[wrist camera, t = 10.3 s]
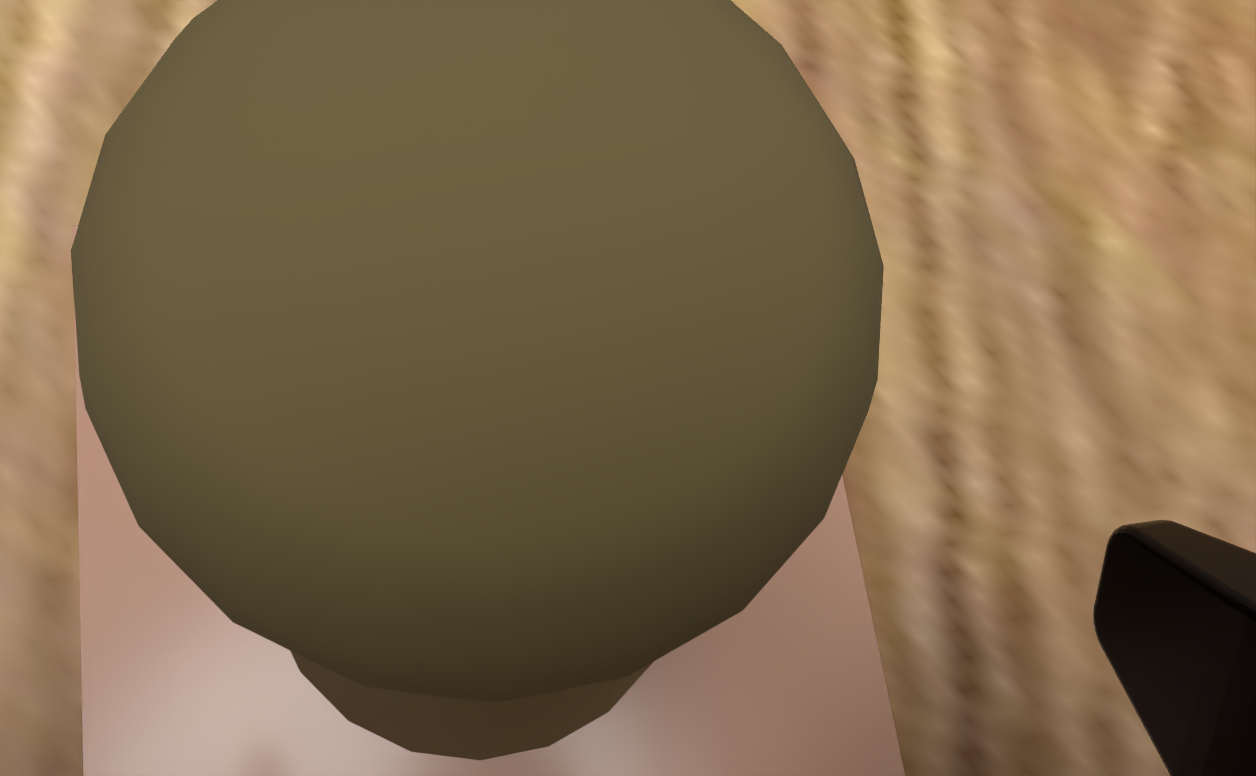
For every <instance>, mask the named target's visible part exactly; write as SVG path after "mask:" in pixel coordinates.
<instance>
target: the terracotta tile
mask: <svg viewBox="0 0 1256 776" xmlns="http://www.w3.org/2000/svg"><path fill="white" fill-rule="evenodd" d="M77 229H78V225H73V242H74V239H75V235H76V232H77ZM74 317H75V304H74ZM75 369H76V420H77V471H78V523H79V574H80V625H81V677H82V728H83V776H905V772H904V767H903V762H902V757H901V753H900V748H899V743H898V738H897V734H896V729H895V724H894V719H893V715H892V710H891V705H890V700H889V696H888V691H887V686H886V681H885V677H884V672H883V667H882V662H881V658H880V653H879V648H878V643H877V639H876V634H875V629H874V624H873V620H872V615H871V610H870V605H869V601H868V596H867V591H866V586H865V582H864V577H863V572H862V567H861V562H860V558H859V553H858V548H857V543H856V539H855V534H854V529H853V524H852V520H851V515H850V510H849V505H848V501H847V496H846V491H845V486H844V482H843V477H842V476H841V479H840V481H839V484H838V486H837V488H836V491H835V493H834V496H833V498H832V501H831V503H830V506H829V508H828V510H827V513H826V515H825V518H824V519H823V520H822V521H821V523H820V524H819V525H818V526H817V527H816V528H815V529H814V530H813V532H812V533H811V534H810V535H809V536H808V537H807V538H806V540H805V541H804V542H803V543H802V544H801V545H800V546H799V547H798V549H797V550H796V551H795V552H794V553H793V554H792V555H791V557H790V558H789V559H788V560H787V561H786V562H785V563H784V565H783V566H782V567H781V568H780V569H779V570H778V571H777V572H776V574H775V575H774V576H773V577H772V578H771V579H770V580H769V582H768V583H767V584H766V585H765V586H764V587H763V588H762V589H761V591H760V592H759V593H758V594H757V595H756V596H755V597H754V599H753V600H752V601H751V602H750V603H749V604H748V605H747V607H746V608H745V609H744V610H743V611H741V612H740V613H738V614H736V615H734V616H733V617H731V618H729V619H727V620H726V621H724V622H722V623H720V624H719V625H717V626H715V627H713V628H712V629H710V630H708V631H706V632H705V633H703V634H701V635H699V636H697V637H696V638H694V639H692V640H690V641H689V642H687V643H685V644H683V645H682V646H680V647H678V648H676V649H675V650H673V651H671V652H669V653H668V654H666V655H664V656H662V657H661V658H659V659H657V660H655V661H654V662H653V663H652V664H651V665H650V666H649V668H648V669H647V670H646V671H645V672H644V673H643V674H642V675H641V676H640V678H639V679H638V680H637V681H636V682H635V683H634V684H633V685H632V686H631V688H630V689H629V690H628V691H627V692H626V693H625V694H624V695H623V697H622V698H621V699H620V700H619V701H618V702H617V703H616V704H615V705H614V707H613V708H612V709H611V710H610V711H609V712H608V713H606V714H604V715H603V716H601V717H599V718H597V719H596V720H594V721H592V722H590V723H589V724H587V725H585V726H583V727H582V728H580V729H578V730H577V731H575V732H573V733H571V734H570V735H568V736H566V737H564V738H563V739H561V740H559V741H557V742H556V743H554V744H552V745H550V746H549V747H544V748H539V749H534V750H529V751H524V752H519V753H514V754H510V755H505V756H500V757H495V758H490V759H485V760H473V759H465V758H457V757H449V756H441V755H433V754H425V753H417V752H411V751H409V750H406V749H404V748H402V747H400V746H398V745H396V744H394V743H392V742H390V741H388V740H386V739H384V738H382V737H380V736H378V735H376V734H374V733H372V732H370V731H368V730H366V729H364V728H362V727H360V726H358V725H356V724H354V723H352V722H350V721H348V720H347V719H346V718H345V717H344V716H343V715H342V714H341V713H340V712H339V711H338V710H337V709H336V708H335V707H334V706H333V705H332V704H331V703H330V702H329V701H328V700H327V699H326V698H325V697H324V696H323V695H322V694H321V693H320V692H319V691H318V689H317V688H316V687H315V686H314V685H313V684H312V683H311V682H310V681H309V680H308V679H307V678H306V677H305V676H304V675H303V674H302V673H301V672H300V671H299V668H298V666H297V664H296V662H295V660H294V658H293V656H292V654H291V651H290V650H288V649H286V648H284V647H282V646H280V645H278V644H276V643H274V642H272V641H270V640H268V639H266V638H264V637H262V636H260V635H258V634H256V633H254V632H252V631H250V630H248V629H246V628H244V627H241V626H239V625H237V624H235V623H233V622H232V621H231V620H230V619H229V618H228V617H227V616H226V615H225V614H224V613H223V612H222V611H221V610H220V609H219V608H218V607H217V606H216V605H215V604H214V602H213V601H212V600H211V599H210V598H209V597H208V596H207V595H206V594H205V593H204V592H203V591H202V590H201V589H200V588H199V587H198V586H197V585H196V584H195V583H194V582H193V581H192V580H191V579H190V578H189V577H188V576H187V575H186V574H185V573H184V572H183V571H182V570H181V569H180V568H179V567H178V566H177V565H176V564H175V563H174V562H173V561H172V560H171V559H170V558H169V557H168V556H167V555H166V554H165V553H164V552H163V551H162V550H161V548H160V547H159V546H158V545H157V544H156V543H155V542H154V541H153V540H152V539H151V538H150V537H149V536H148V535H147V534H146V533H145V532H144V531H143V530H142V529H141V528H140V527H139V526H138V524H137V521H136V519H135V517H134V515H133V513H132V510H131V508H130V506H129V504H128V502H127V499H126V497H125V495H124V493H123V491H122V488H121V486H120V484H119V482H118V479H117V477H116V475H115V473H114V471H113V468H112V466H111V464H110V462H109V460H108V457H107V455H106V453H105V451H104V449H103V446H102V444H101V442H100V440H99V438H98V435H97V433H96V431H95V429H94V426H93V424H92V422H91V420H90V418H89V415H88V413H87V411H86V409H85V403H84V398H83V393H82V387H81V382H80V377H79V365H78V350H77V335H76V319H75Z"/></svg>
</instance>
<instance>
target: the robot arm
mask: <svg viewBox="0 0 1256 776" xmlns="http://www.w3.org/2000/svg"><path fill="white" fill-rule="evenodd" d="M1094 626H1095V631H1096V634H1097V637H1098V640H1099V642H1100V645H1101V647H1102V649H1103V650H1104V652H1105V654H1106V656H1107V658H1108V660H1109V662H1110V664H1111V665H1112V667H1113V669H1114V671H1115V673H1116V675H1117V677H1118V678H1119V680H1120V682H1121V684H1122V686H1123V688H1124V690H1125V691H1126V693H1127V695H1128V697H1129V699H1130V701H1131V703H1132V705H1133V706H1134V708H1135V710H1136V712H1137V714H1138V716H1139V718H1140V719H1141V721H1142V723H1143V725H1144V727H1145V729H1146V731H1147V732H1148V734H1149V736H1150V738H1151V740H1152V742H1153V744H1154V746H1155V747H1156V749H1157V751H1158V753H1159V755H1160V757H1161V759H1162V760H1163V762H1164V764H1165V766H1166V768H1167V770H1168V772H1169V773H1170V775H1171V776H1256V553H1254V552H1251V551H1248V550H1246V549H1243V548H1241V547H1238V546H1235V545H1233V544H1230V543H1228V542H1225V541H1222V540H1220V539H1217V538H1215V537H1212V536H1210V535H1207V534H1204V533H1202V532H1199V531H1197V530H1194V529H1191V528H1189V527H1186V526H1184V525H1181V524H1179V523H1176V522H1173V521H1168V520H1156V521H1149V522H1142V523H1135V524H1128V525H1123V526H1121V527H1119V528H1117V529H1116V530H1115V531H1114V532H1113V533H1112V535H1111V536H1110V538H1109V540H1108V544H1107V548H1106V553H1105V557H1104V562H1103V567H1102V572H1101V576H1100V581H1099V586H1098V591H1097V595H1096V600H1095V605H1094Z"/></svg>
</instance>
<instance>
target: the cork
mask: <svg viewBox="0 0 1256 776" xmlns="http://www.w3.org/2000/svg"><path fill="white" fill-rule="evenodd" d="M71 259H72V274H73V289H74V304H75V319H76V335H77V350H78V365H79V377H80V382H81V387H82V393H83V398H84V403H85V409H86V411H87V413H88V415H89V418H90V420H91V422H92V424H93V426H94V429H95V431H96V433H97V435H98V438H99V440H100V442H101V444H102V446H103V449H104V451H105V453H106V455H107V457H108V460H109V462H110V464H111V466H112V468H113V471H114V473H115V475H116V477H117V479H118V482H119V484H120V486H121V488H122V491H123V493H124V495H125V497H126V499H127V502H128V504H129V506H130V508H131V510H132V513H133V515H134V517H135V519H136V521H137V524H138V526H139V527H140V528H141V529H142V530H143V531H144V532H145V533H146V534H147V535H148V536H149V537H150V538H151V539H152V540H153V541H154V542H155V543H156V544H157V545H158V546H159V547H160V548H161V550H162V551H163V552H164V553H165V554H166V555H167V556H168V557H169V558H170V559H171V560H172V561H173V562H174V563H175V564H176V565H177V566H178V567H179V568H180V569H181V570H182V571H183V572H184V573H185V574H186V575H187V576H188V577H189V578H190V579H191V580H192V581H193V582H194V583H195V584H196V585H197V586H198V587H199V588H200V589H201V590H202V591H203V592H204V593H205V594H206V595H207V596H208V597H209V598H210V599H211V600H212V601H213V602H214V604H215V605H216V606H217V607H218V608H219V609H220V610H221V611H222V612H223V613H224V614H225V615H226V616H227V617H228V618H229V619H230V620H231V621H232V622H233V623H235V624H237V625H239V626H241V627H244V628H246V629H248V630H250V631H252V632H254V633H256V634H258V635H260V636H262V637H264V638H266V639H268V640H270V641H272V642H274V643H276V644H278V645H280V646H282V647H284V648H286V649H288V650H290V651H291V654H292V656H293V658H294V660H295V662H296V664H297V666H298V668H299V671H300V672H301V673H302V674H303V675H304V676H305V677H306V678H307V679H308V680H309V681H310V682H311V683H312V684H313V685H314V686H315V687H316V688H317V689H318V691H319V692H320V693H321V694H322V695H323V696H324V697H325V698H326V699H327V700H328V701H329V702H330V703H331V704H332V705H333V706H334V707H335V708H336V709H337V710H338V711H339V712H340V713H341V714H342V715H343V716H344V717H345V718H346V719H347V720H348V721H350V722H352V723H354V724H356V725H358V726H360V727H362V728H364V729H366V730H368V731H370V732H372V733H374V734H376V735H378V736H380V737H382V738H384V739H386V740H388V741H390V742H392V743H394V744H396V745H398V746H400V747H402V748H404V749H406V750H409V751H411V752H417V753H425V754H433V755H441V756H449V757H457V758H465V759H473V760H485V759H490V758H495V757H500V756H505V755H510V754H514V753H519V752H524V751H529V750H534V749H539V748H544V747H549V746H550V745H552V744H554V743H556V742H557V741H559V740H561V739H563V738H564V737H566V736H568V735H570V734H571V733H573V732H575V731H577V730H578V729H580V728H582V727H583V726H585V725H587V724H589V723H590V722H592V721H594V720H596V719H597V718H599V717H601V716H603V715H604V714H606V713H608V712H609V711H610V710H611V709H612V708H613V707H614V705H615V704H616V703H617V702H618V701H619V700H620V699H621V698H622V697H623V695H624V694H625V693H626V692H627V691H628V690H629V689H630V688H631V686H632V685H633V684H634V683H635V682H636V681H637V680H638V679H639V678H640V676H641V675H642V674H643V673H644V672H645V671H646V670H647V669H648V668H649V666H650V665H651V664H652V663H653V662H654V661H655V660H657V659H659V658H661V657H662V656H664V655H666V654H668V653H669V652H671V651H673V650H675V649H676V648H678V647H680V646H682V645H683V644H685V643H687V642H689V641H690V640H692V639H694V638H696V637H697V636H699V635H701V634H703V633H705V632H706V631H708V630H710V629H712V628H713V627H715V626H717V625H719V624H720V623H722V622H724V621H726V620H727V619H729V618H731V617H733V616H734V615H736V614H738V613H740V612H741V611H743V610H744V609H745V608H746V607H747V605H748V604H749V603H750V602H751V601H752V600H753V599H754V597H755V596H756V595H757V594H758V593H759V592H760V591H761V589H762V588H763V587H764V586H765V585H766V584H767V583H768V582H769V580H770V579H771V578H772V577H773V576H774V575H775V574H776V572H777V571H778V570H779V569H780V568H781V567H782V566H783V565H784V563H785V562H786V561H787V560H788V559H789V558H790V557H791V555H792V554H793V553H794V552H795V551H796V550H797V549H798V547H799V546H800V545H801V544H802V543H803V542H804V541H805V540H806V538H807V537H808V536H809V535H810V534H811V533H812V532H813V530H814V529H815V528H816V527H817V526H818V525H819V524H820V523H821V521H822V520H823V519H824V518H825V515H826V513H827V510H828V508H829V506H830V503H831V501H832V498H833V496H834V493H835V491H836V488H837V486H838V484H839V481H840V479H841V476H842V474H843V471H844V469H845V466H846V464H847V461H848V459H849V457H850V454H851V452H852V449H853V447H854V444H855V442H856V439H857V437H858V435H859V432H860V430H861V427H862V425H863V422H864V420H865V417H866V415H867V413H868V410H869V407H870V403H871V400H872V396H873V393H874V389H875V386H876V382H877V377H878V359H879V340H880V322H881V304H882V285H883V267H884V266H883V262H882V259H881V255H880V251H879V248H878V244H877V240H876V237H875V233H874V229H873V226H872V222H871V218H870V215H869V211H868V207H867V204H866V200H865V197H864V193H863V189H862V186H861V182H860V178H859V175H858V171H857V167H856V164H855V160H854V158H853V156H852V155H851V153H850V151H849V150H848V148H847V147H846V145H845V143H844V142H843V140H842V138H841V137H840V135H839V134H838V132H837V130H836V129H835V127H834V126H833V124H832V123H831V121H830V120H829V118H828V116H827V115H826V113H825V112H824V110H823V109H822V107H821V106H820V104H819V102H818V101H817V99H816V98H815V96H814V95H813V93H812V92H811V90H810V88H809V87H808V85H807V84H806V82H805V81H804V79H803V78H802V76H801V74H800V73H799V71H798V70H797V68H796V67H795V65H794V64H793V62H792V60H791V59H790V57H789V56H788V54H787V53H786V51H785V49H784V48H783V46H782V45H781V44H780V43H779V42H778V41H777V40H775V39H774V38H773V37H772V36H771V35H770V34H768V33H767V32H766V31H765V30H764V29H763V28H762V27H760V26H759V25H758V24H757V23H756V22H755V21H754V20H752V19H751V18H750V17H749V16H748V15H747V14H745V13H744V12H743V11H742V10H741V9H740V8H739V7H737V6H736V5H735V4H734V3H733V2H732V1H731V0H218V1H216V2H215V3H214V4H212V5H211V6H209V7H208V8H207V9H205V10H204V11H203V12H201V13H200V14H198V15H197V16H196V17H194V18H193V19H192V20H191V22H190V23H189V24H188V25H187V26H186V27H185V28H184V29H183V31H182V32H181V33H180V34H179V35H178V36H177V37H176V38H175V40H174V41H173V42H172V44H171V45H170V47H169V48H168V49H167V51H166V52H165V53H164V55H163V56H162V58H161V59H160V60H159V62H158V63H157V64H156V66H155V67H154V69H153V70H152V71H151V73H150V74H149V75H148V77H147V78H146V80H145V81H144V82H143V84H142V85H141V87H140V88H139V89H138V91H137V92H136V93H135V95H134V96H133V98H132V99H131V100H130V102H129V103H128V104H127V106H126V107H125V109H124V110H123V111H122V113H121V114H120V115H119V117H118V118H117V120H116V121H115V122H114V124H113V125H112V127H111V128H110V129H109V131H108V132H107V133H106V135H105V138H104V141H103V145H102V148H101V151H100V155H99V158H98V161H97V165H96V168H95V171H94V175H93V178H92V182H91V185H90V188H89V192H88V195H87V198H86V202H85V205H84V208H83V212H82V215H81V218H80V222H79V225H78V229H77V232H76V235H75V239H74V242H73V245H72V249H71Z"/></svg>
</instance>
